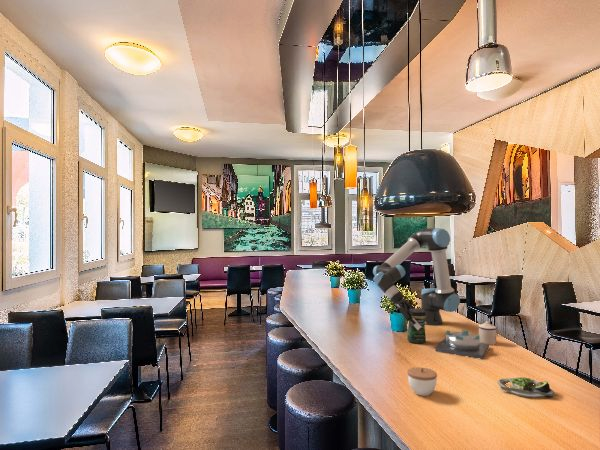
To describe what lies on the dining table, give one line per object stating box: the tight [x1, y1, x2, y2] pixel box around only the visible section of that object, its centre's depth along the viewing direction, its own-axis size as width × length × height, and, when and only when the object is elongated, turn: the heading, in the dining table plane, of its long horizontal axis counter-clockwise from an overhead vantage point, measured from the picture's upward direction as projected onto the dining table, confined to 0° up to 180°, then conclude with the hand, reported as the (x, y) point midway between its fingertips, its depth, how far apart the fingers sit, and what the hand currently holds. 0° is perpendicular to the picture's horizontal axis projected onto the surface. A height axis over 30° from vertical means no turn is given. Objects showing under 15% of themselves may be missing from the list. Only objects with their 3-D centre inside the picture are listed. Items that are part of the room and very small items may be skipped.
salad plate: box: [497, 376, 558, 399], centre depth 146 cm, size 19×18×5 cm
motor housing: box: [434, 329, 490, 360], centre depth 196 cm, size 22×22×8 cm
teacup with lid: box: [477, 321, 497, 346], centre depth 210 cm, size 12×9×12 cm
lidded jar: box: [407, 366, 438, 397], centre depth 143 cm, size 11×11×9 cm
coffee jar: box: [406, 307, 427, 344], centre depth 210 cm, size 10×8×19 cm
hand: (422, 326), depth 208 cm, fingers closed on coffee jar, 9 cm apart
